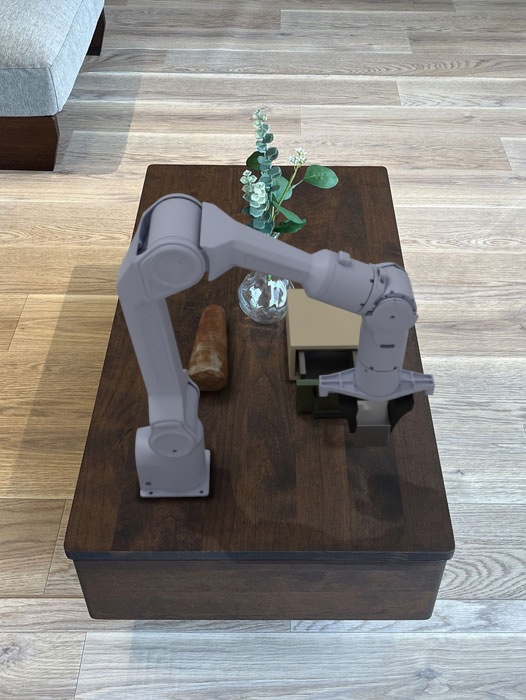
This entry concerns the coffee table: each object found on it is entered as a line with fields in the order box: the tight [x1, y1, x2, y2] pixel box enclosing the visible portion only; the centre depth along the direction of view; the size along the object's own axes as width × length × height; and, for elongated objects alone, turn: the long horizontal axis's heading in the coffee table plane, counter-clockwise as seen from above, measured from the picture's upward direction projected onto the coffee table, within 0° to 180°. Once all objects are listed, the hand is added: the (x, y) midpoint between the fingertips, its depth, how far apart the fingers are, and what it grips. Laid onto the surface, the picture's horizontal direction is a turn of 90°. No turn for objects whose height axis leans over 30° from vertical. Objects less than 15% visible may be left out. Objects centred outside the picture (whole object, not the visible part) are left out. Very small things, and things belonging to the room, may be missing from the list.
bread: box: [187, 304, 229, 392], centre depth 129 cm, size 6×19×6 cm, turn 177°
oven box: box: [285, 288, 363, 381], centre depth 129 cm, size 14×12×8 cm
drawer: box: [294, 349, 366, 420], centre depth 122 cm, size 17×10×6 cm, turn 1°
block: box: [352, 400, 391, 448], centre depth 107 cm, size 4×4×4 cm
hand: (370, 427), depth 107 cm, fingers closed on block, 4 cm apart
